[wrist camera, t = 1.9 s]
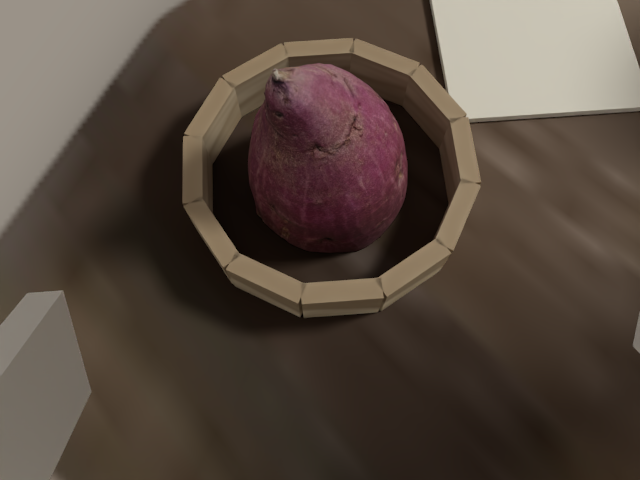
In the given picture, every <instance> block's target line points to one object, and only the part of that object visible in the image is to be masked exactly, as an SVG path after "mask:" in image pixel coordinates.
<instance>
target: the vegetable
mask: <svg viewBox="0 0 640 480" xmlns="http://www.w3.org/2000/svg"><path fill="white" fill-rule="evenodd" d="M264 95H265V100H264V103H263V104H262V106H261V107H260V109H259V111H258V112H257V114H256V117H255V120H254V124H253V129H252V134H251V138H250V147H249V156H248V174H249V185H250V188H251V191H252V194H253V197H254V201H255V206H256V214H257V215H258V216H260V217H261V218H262V219H263V222H264V223H265V224H266V225H267V226H268V227H269V228H270V229H271V230H273V231H274V232H275V233H276V234H278V235H279V236H280V237H282V238H284V239H285V240H286V241H287V242H288V243H290V244H292V245H294V246H296V247H298V248H301V249H303V250H305V251H309V252H323V253H336V252H337V253H338V252H352V251H358V250H361V249H363V248H365V247H367V246H369V245H370V244H372V243H373V242H374V241H375V240H377V239H378V238H380V237H381V235H382V234H383V233H384V232H385V231H386V230H387V229H388V227H389V226H390V225H391V224H392V222H393V221H394V219H395V218H396V216H397V215H398V213H399V211H400V209H401V207H402V205H403V202H404V199H405V195H406V190H407V174H408V164H407V157H406V151H405V143H404V139H403V135H402V132H401V130H400V127H399V125H398V123H397V121H396V119H395V118H394V116H393V114H392V113H391V111H390V109H389V107H388V105H387V104H386V103H385V101H384V100H383V99H382V98H381V97H380V96H379V95H378V94H377V93H376V92H375V91H374V90H373V89H372V88H371V87H370V86H369V85H367V84H366V83H365V82H363V81H362V80H360V79H359V78H357V77H356V76H354V75H353V74H351V73H350V72H348V71H345V70H343V69H341V68H338V67H336V66H334V65H331V64H321V63H316V64H307V65H303V66H299V67H284V68H282V69H278V70H277V69H276V68H274V69H273V70H272V74H271V75H270V77H269V79H268V81H267V83H266V88H265V92H264Z"/></svg>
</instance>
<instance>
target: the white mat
mask: <svg viewBox="0 0 640 480" xmlns="http://www.w3.org/2000/svg"><path fill="white" fill-rule="evenodd" d="M430 6H431V11H432V17H433V22H434V28H435V33H436V39H437V44H438V50H439V55H440V61H441V66H442V71H443V77H444V82H445V88H446V92H447V93H448V94H449V95H450V96H451V97H452V98H453V99H454V100H455V102H456V103H457V104H458V105H459V106H460V107H461V108H462V109H463V110H464V111H465V113H466V114H467V115H466V117H468V118H469V123H471V122H486V121H500V120H515V119H530V118H545V117H559V116H574V115H589V114H603V113H618V112H633V111H640V68H639V65H638V62H637V59H636V56H635V53H634V50H633V47H632V44H631V41H630V38H629V35H628V32H627V29H626V26H625V23H624V20H623V17H622V14H621V11H620V8H619V5H618V2H617V0H430Z"/></svg>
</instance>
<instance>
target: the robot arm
mask: <svg viewBox="0 0 640 480" xmlns="http://www.w3.org/2000/svg"><path fill="white" fill-rule="evenodd" d="M633 347H634V348H635V349H636V350H637V351H638V352H639V353H640V313H639V318H638V322H637V327H636V332H635V337H634V342H633ZM90 394H91V388H90V385H89V381H88V378H87V374H86V371H85V367H84V363H83V360H82V356H81V353H80V349H79V346H78V342H77V338H76V335H75V331H74V328H73V324H72V321H71V317H70V313H69V310H68V306H67V303H66V299H65V296H64V292H63V290H61V291H48V292H36V293H27V294H26V295H25V296H24V298H23V299H22V300H21V301H20V302H19V304H18V305H17V306H16V307H15V308H14V310H13V311H12V312H11V313H10V314H9V316H8V317H7V318H6V319H5V320H4V322H3V323H2V324H1V325H0V480H50V478H51V476H52V474H53V472H54V470H55V468H56V466H57V464H58V462H59V459H60V457H61V455H62V453H63V451H64V449H65V447H66V445H67V442H68V440H69V438H70V436H71V434H72V432H73V430H74V428H75V426H76V423H77V421H78V419H79V417H80V415H81V413H82V411H83V409H84V406H85V404H86V402H87V400H88V398H89V396H90Z"/></svg>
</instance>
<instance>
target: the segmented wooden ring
mask: <svg viewBox="0 0 640 480" xmlns="http://www.w3.org/2000/svg"><path fill="white" fill-rule="evenodd" d="M284 45H285V47H284V46H283V45H282V44H279V45H277V46H275V47H274V48H272V49H270V50H268V51H266V52H264V53H263V54H261V55H259V56H257V57H255V58H254V59H252V60H250V61H248V62H246V63H244V64H243V65H241V66H239V67H237V68H235V69H234V70H232V71H230V72H228V73H226V74H224V75H223V76H222V77H223V79H221V78H219V80H218V82H217V83H216V85H215V86H214V88H213V89H212V91H211V92H210V94H209V95H208V97H207V98H206V100H205V102H204V103H203V105H202V106H201V108H200V109H199V111H198V112H197V114H196V115H195V117H194V119H193V120H192V122H191V123H190V125H189V126H188V128H187V129H186V131H185V132H184V134H185V136H183V192H182V203H183V205H184V206H183V207H184V209H185V210H186V212H187V214H188V216H189V217H190V219H191V221H192V223H193V224H194V226H195V228H196V229H197V231H198V232H199V234H200V235H201V237H202V239H203V240H204V242H205V243H206V245H207V246H208V248H209V249H210V251H211V252H212V254H213V255H214V257H215V258H216V260H217V262H218V263H219V265H220V266H221V268H222V269H223V271H224V272H225V274H226V275H227V277H228V278H229V280H230V281H231V283H232V284H234V286H235V287H237V288H239V289H242V290H244V291H246V292H248V293H250V294H252V295H254V296H256V297H258V298H261V299H263V300H265V301H267V302H269V303H271V304H273V305H275V306H277V307H279V308H282V309H284V310H286V311H288V312H290V313H292V314H294V315H296V316H298V317H301V315H302V313H303V317H304V318H310V317H323V316H336V315H349V314H363V313H376V312H378V311H379V309H380V310H381V311H382V310H384V309H385V308H386V307H388V306H389V305H391V304H392V303H394V302H395V301H397V300H398V299H400V298H401V297H402V296H404V295H405V294H407V293H408V292H410V291H411V290H413V289H414V288H415V287H417V286H418V285H420V284H421V283H423V282H424V281H426V280H427V279H429V278H430V277H431V276H433V275H434V274H436V273H437V272H439V271H440V269H441V268H442V267H443V265H444V264H445V262H446V261H447V259H448V258H449V256H450V255H451V253H452V252H453V250H454V248H455V246H456V243H457V241H458V238H459V236H460V234H461V231H462V229H463V227H464V224H465V222H466V219H467V217H468V215H469V212H470V210H471V208H472V205H473V203H474V200H475V198H476V196H477V193H478V191H479V189H480V186H481V185H480V183H481V179H480V174H479V169H478V164H477V159H476V153H475V148H474V143H473V138H472V133H471V128H470V123H469V118H468V117H466V115H467V114H466V113H465V111H464V110H463V109H462V108H461V107H460V106H459V105H458V104H457V103H456V102H455V100H454V99H453V98H452V97H451V96H450V95H449V94H448V93H447V92H446V90H445V89H444V88H443V87H442V86H441V85H440V84H439V83H438V82H437V80H436V79H435V78H434V77H433V76H432V75H431V74H430V73H429V72H428V71H427V69H426V68H425V67H424V66H423V65H421V66H419V62H416V61H413V60H411V59H408V58H406V57H403V56H400V55H398V54H395V53H393V52H390V51H387V50H385V49H382V48H379V47H377V46H374V45H372V44H369V43H366V42H364V41H361V40H359V39H355V41H354V43H353V38H345V39H329V40H314V41H298V42H284ZM316 63H321V64H331V65H334V66H336V67H338V68H341V69H343V70H345V71H348V72H350V73H351V74H353V75H354V76H356V77H357V78H359V79H360V80H362V81H363V82H365V83H366V84H367V85H369V86H370V87H371V88H372V89H373V90H374V91H375V92H376V93H377V94H378V95H379V96H380V97H381V98H383V99H386V100H388V101H391V102H393V103H396V104H398V105H401V106H403V107H404V109H405V110H406V111H407V112H408V113H409V114H410V116H411V117H412V118H413V119H414V120H415V121H416V123H417V124H418V125H419V126H420V127H421V128H422V129H423V131H424V132H425V133H426V134H427V135H428V136H429V138H430V139H431V140H432V141H433V142H434V143H435V145H436V146H437V147H438V148H439V151H440V156H441V162H442V168H443V174H444V180H445V186H446V192H447V197H448V203H449V204H448V207H447V209H446V211H445V214H444V216H443V218H442V220H441V223H440V225H439V227H438V230H437V232H436V234H435V236H434V239H433V241H431V242H430V243H429V244H427V245H426V246H424V247H423V248H421V249H420V250H418V251H417V252H415V253H414V254H412V255H411V256H409V257H408V258H406V259H405V260H403V261H402V262H400V263H399V264H397V265H396V266H394V267H393V268H391V269H390V270H388V271H387V272H385V273H384V274H382V275H381V276H380V277H378V278H369V279H355V280H342V281H328V282H315V283H302V282H300V281H298V280H296V279H294V278H292V277H289V276H287V275H285V274H283V273H281V272H279V271H276V270H274V269H272V268H270V267H268V266H266V265H264V264H261V263H259V262H257V261H255V260H253V259H251V258H248V257H246V256H244V255H242V254H240V253H239V252H238V251H237V249H236V248H235V246H234V245H233V243H232V242H231V240H230V239H229V237H228V236H227V234H226V233H225V231H224V230H223V228H222V227H221V225H220V224H219V222H218V221H217V220H216V218H215V217H214V215H213V163H214V161H215V160H216V158H217V156H218V155H219V153H220V151H221V150H222V148H223V147H224V145H225V143H226V142H227V140H228V138H229V137H230V135H231V134H232V132H233V130H234V129H235V127H236V125H237V124H238V122H239V121H240V119H241V117H242V116H244V115H246V114H248V113H249V112H251V111H253V110H255V109H256V108H258V107H260V106H262V104H263V103H264V100H265V95H264V92H265V88H266V83H267V81H268V79H269V77H270V75H271V74H272V70H273V69H274V68H276V69H277V70H278V69H282V68H284V67H299V66H303V65H307V64H316Z"/></svg>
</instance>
